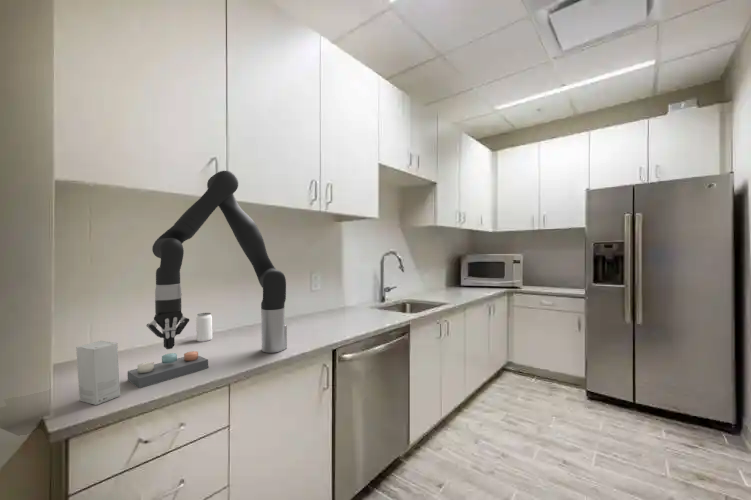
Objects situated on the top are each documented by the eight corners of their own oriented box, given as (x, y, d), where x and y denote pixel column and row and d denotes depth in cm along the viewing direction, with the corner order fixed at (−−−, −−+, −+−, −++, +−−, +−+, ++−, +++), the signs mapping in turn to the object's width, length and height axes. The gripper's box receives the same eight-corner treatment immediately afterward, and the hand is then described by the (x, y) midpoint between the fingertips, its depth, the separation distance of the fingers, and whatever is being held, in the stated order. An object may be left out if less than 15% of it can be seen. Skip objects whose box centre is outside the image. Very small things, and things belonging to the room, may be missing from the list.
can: (195, 342, 151) (194, 315, 151) (198, 338, 157) (197, 313, 157) (210, 341, 153) (210, 314, 153) (213, 337, 159) (213, 312, 159)
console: (194, 362, 126) (194, 354, 126) (208, 367, 120) (208, 359, 120) (127, 380, 109) (127, 371, 109) (139, 388, 103) (138, 378, 103)
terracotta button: (194, 356, 123) (194, 350, 123) (200, 358, 120) (200, 352, 120) (181, 359, 119) (181, 353, 119) (187, 361, 117) (187, 356, 117)
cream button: (151, 367, 112) (150, 361, 112) (156, 370, 109) (156, 363, 109) (135, 371, 108) (135, 364, 108) (140, 374, 106) (140, 367, 106)
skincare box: (120, 396, 97) (119, 342, 97) (94, 406, 91) (92, 349, 91) (103, 391, 101) (102, 339, 100) (76, 401, 95) (75, 345, 94)
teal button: (173, 358, 117) (173, 352, 117) (179, 360, 115) (179, 354, 115) (159, 361, 114) (159, 355, 114) (165, 364, 111) (165, 358, 111)
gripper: (184, 294, 121) (184, 342, 122) (141, 298, 111) (142, 351, 111) (193, 296, 117) (194, 345, 117) (150, 301, 106) (151, 355, 107)
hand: (169, 348), depth 114 cm, fingers closed
